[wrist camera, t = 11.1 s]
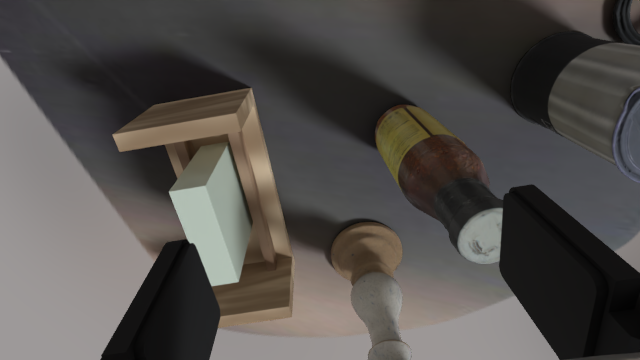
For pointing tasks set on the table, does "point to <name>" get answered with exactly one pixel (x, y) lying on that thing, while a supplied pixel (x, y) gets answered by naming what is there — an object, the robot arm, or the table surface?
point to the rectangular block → (214, 211)
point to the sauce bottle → (442, 180)
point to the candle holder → (373, 284)
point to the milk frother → (587, 91)
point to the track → (258, 184)
